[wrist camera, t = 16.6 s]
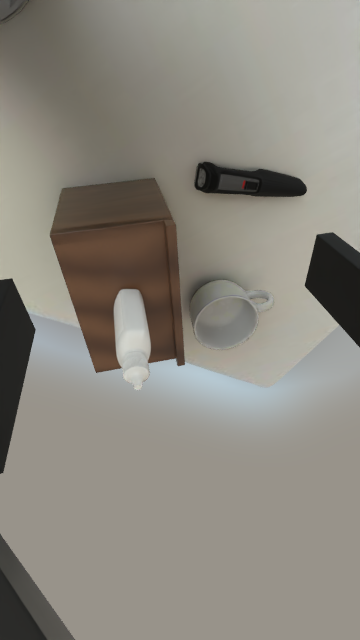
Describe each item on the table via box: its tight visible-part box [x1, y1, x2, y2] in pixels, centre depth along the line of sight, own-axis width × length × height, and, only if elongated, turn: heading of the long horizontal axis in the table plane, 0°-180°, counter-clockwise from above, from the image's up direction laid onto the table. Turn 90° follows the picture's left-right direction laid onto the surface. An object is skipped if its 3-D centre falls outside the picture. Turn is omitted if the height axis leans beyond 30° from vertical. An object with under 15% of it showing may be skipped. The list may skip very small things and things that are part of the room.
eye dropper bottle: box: [114, 289, 151, 390], centre depth 33 cm, size 4×6×12 cm
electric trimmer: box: [195, 162, 307, 197], centre depth 44 cm, size 4×16×3 cm, turn 81°
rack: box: [50, 178, 185, 373], centre depth 42 cm, size 20×12×16 cm, turn 3°
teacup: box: [189, 280, 274, 350], centre depth 54 cm, size 14×11×8 cm
